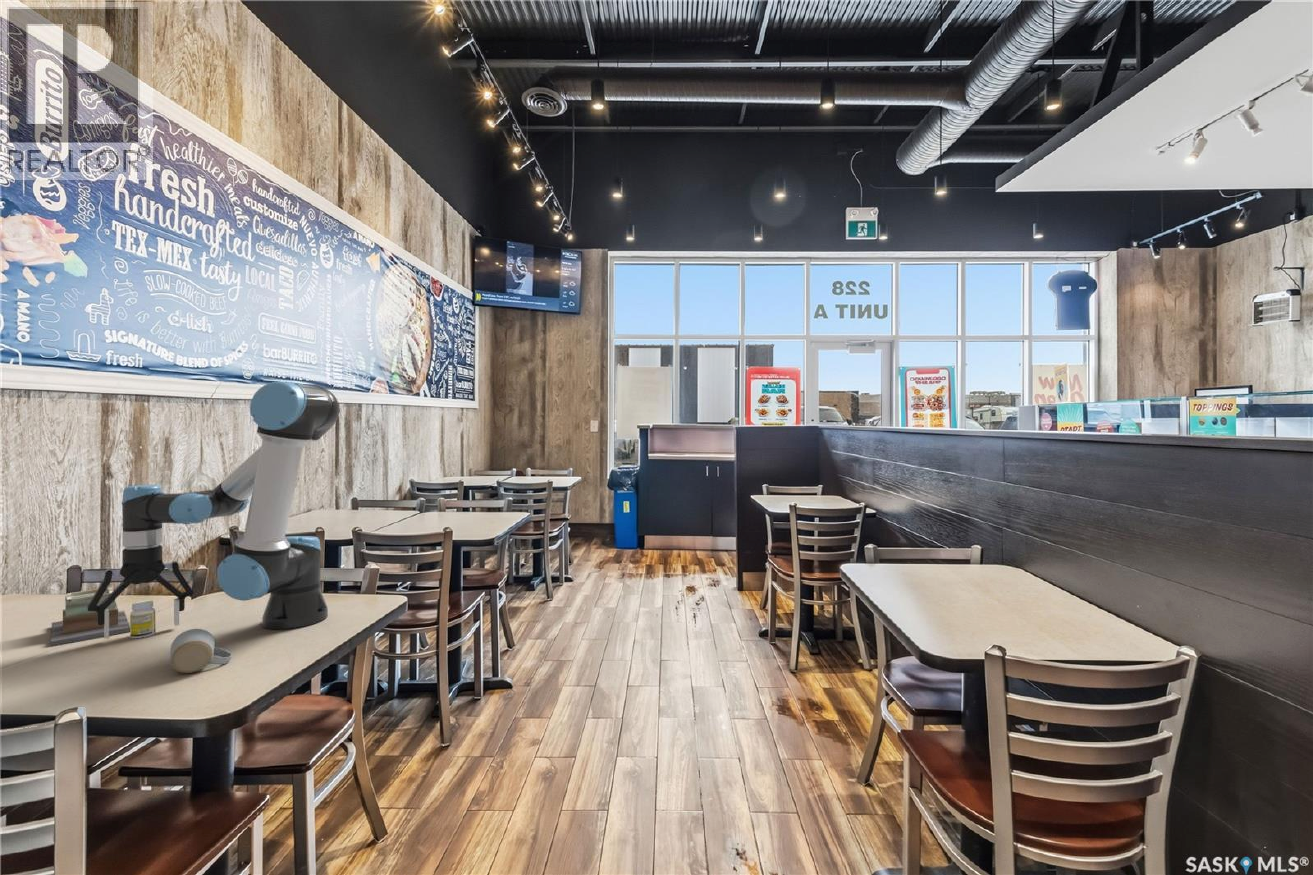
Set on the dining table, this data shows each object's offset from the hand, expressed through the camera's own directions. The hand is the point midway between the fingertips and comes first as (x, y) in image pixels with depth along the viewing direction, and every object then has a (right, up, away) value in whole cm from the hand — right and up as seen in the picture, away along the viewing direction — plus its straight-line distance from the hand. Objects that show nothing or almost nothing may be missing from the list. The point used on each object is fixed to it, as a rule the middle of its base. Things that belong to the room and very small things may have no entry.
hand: (142, 630), depth 144 cm
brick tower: (-18, -1, +4) cm, 18 cm away
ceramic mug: (+30, -2, -19) cm, 36 cm away
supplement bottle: (0, -1, 0) cm, 1 cm away
